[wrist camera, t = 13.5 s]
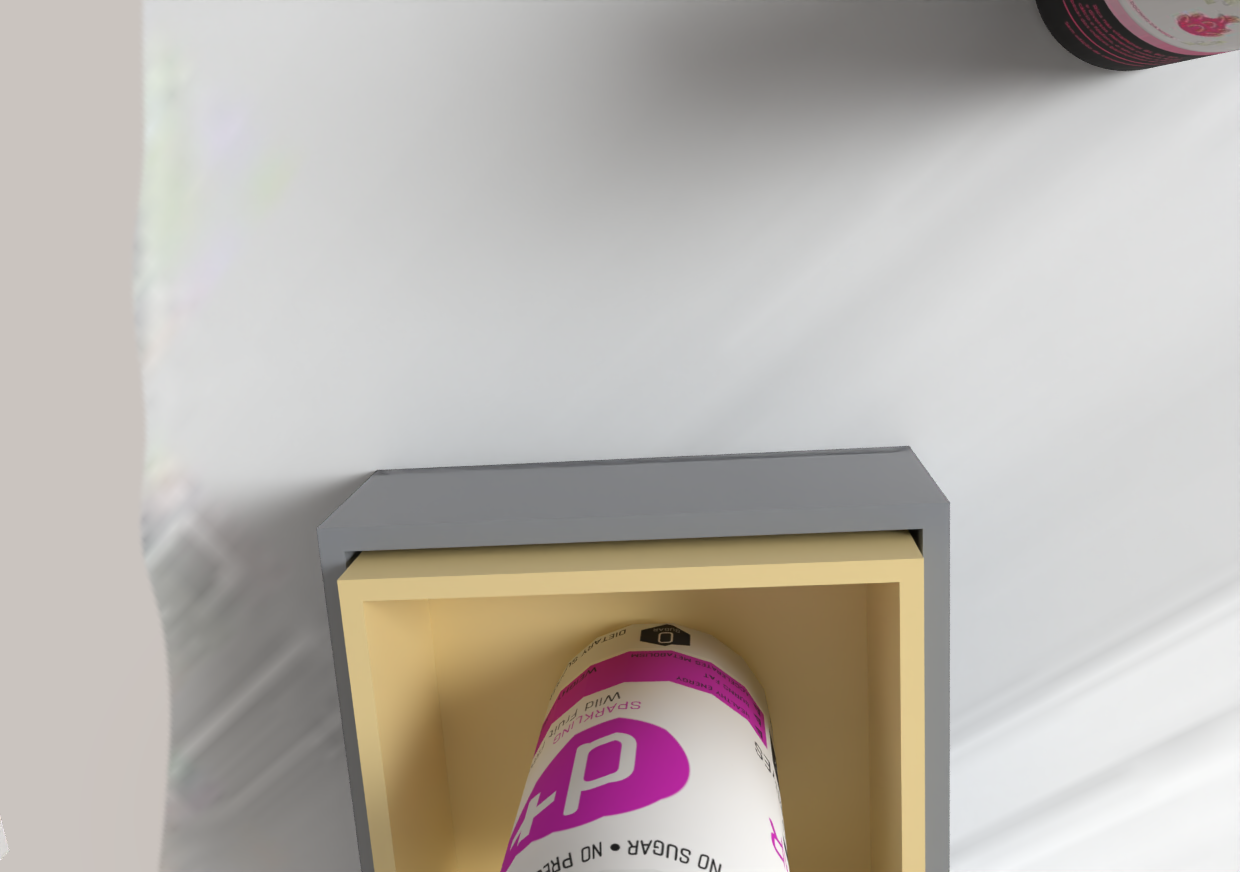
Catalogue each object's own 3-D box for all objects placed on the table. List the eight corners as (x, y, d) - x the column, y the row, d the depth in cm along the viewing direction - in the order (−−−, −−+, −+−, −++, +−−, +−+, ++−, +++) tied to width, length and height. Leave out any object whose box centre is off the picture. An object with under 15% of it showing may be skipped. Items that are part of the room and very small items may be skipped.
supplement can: (515, 661, 43) (417, 917, 28) (720, 583, 42) (730, 810, 27) (602, 843, 44) (552, 1175, 30) (803, 773, 43) (853, 1085, 28)
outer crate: (377, 470, 43) (316, 528, 36) (909, 446, 41) (949, 502, 35) (431, 927, 48) (385, 1055, 41) (912, 921, 46) (949, 1053, 39)
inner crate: (404, 503, 42) (337, 580, 35) (882, 483, 41) (923, 558, 33) (450, 916, 46) (399, 1067, 39) (887, 910, 45) (926, 1067, 37)
